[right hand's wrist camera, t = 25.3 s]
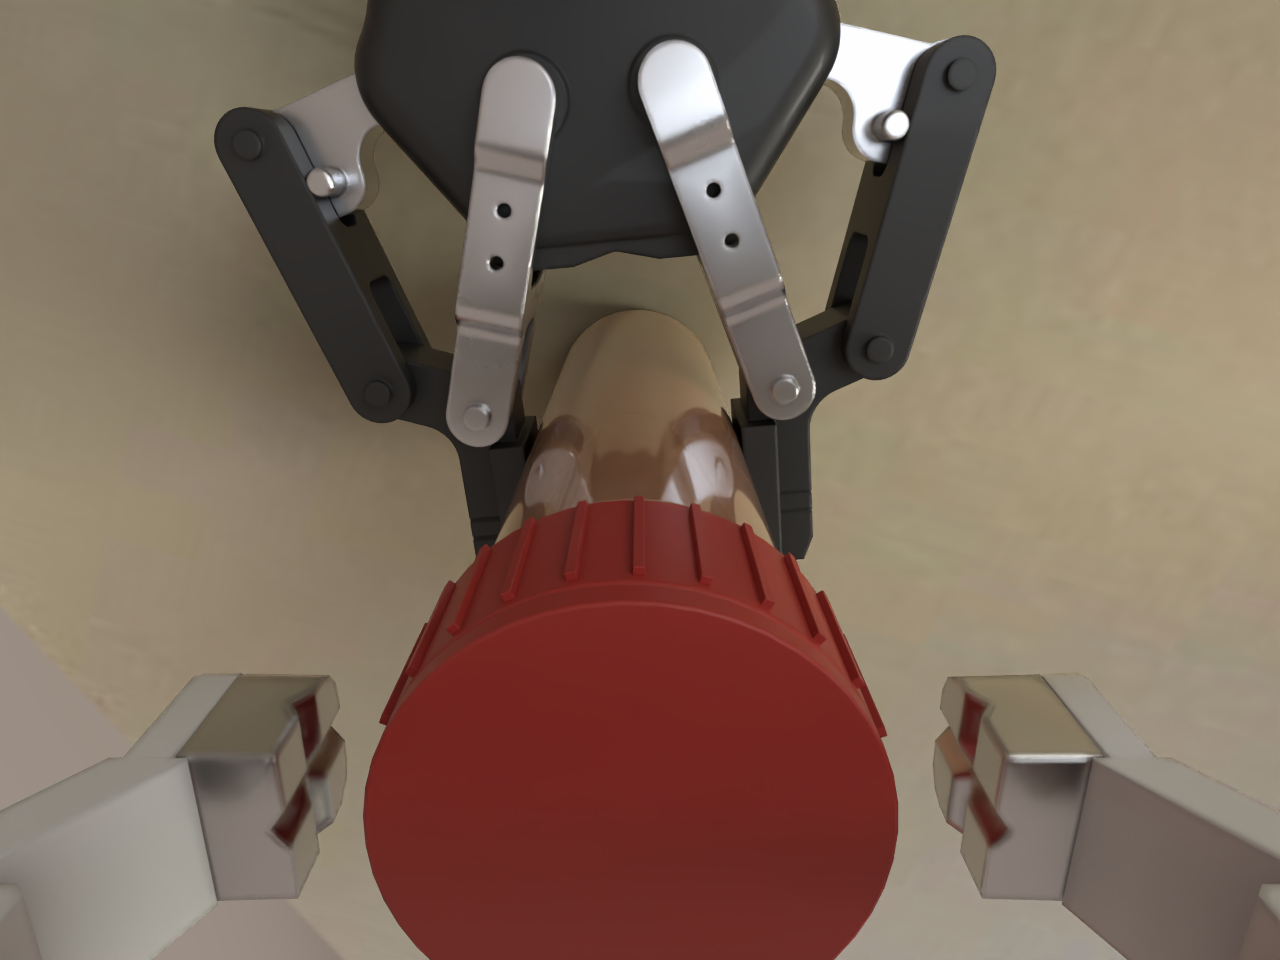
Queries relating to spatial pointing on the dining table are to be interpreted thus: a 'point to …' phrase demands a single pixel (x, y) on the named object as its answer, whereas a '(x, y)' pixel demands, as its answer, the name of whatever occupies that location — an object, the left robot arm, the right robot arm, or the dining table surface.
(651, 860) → the lid
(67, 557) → the dining table surface
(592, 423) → the jar
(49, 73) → the dining table surface
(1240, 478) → the dining table surface
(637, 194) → the left robot arm
